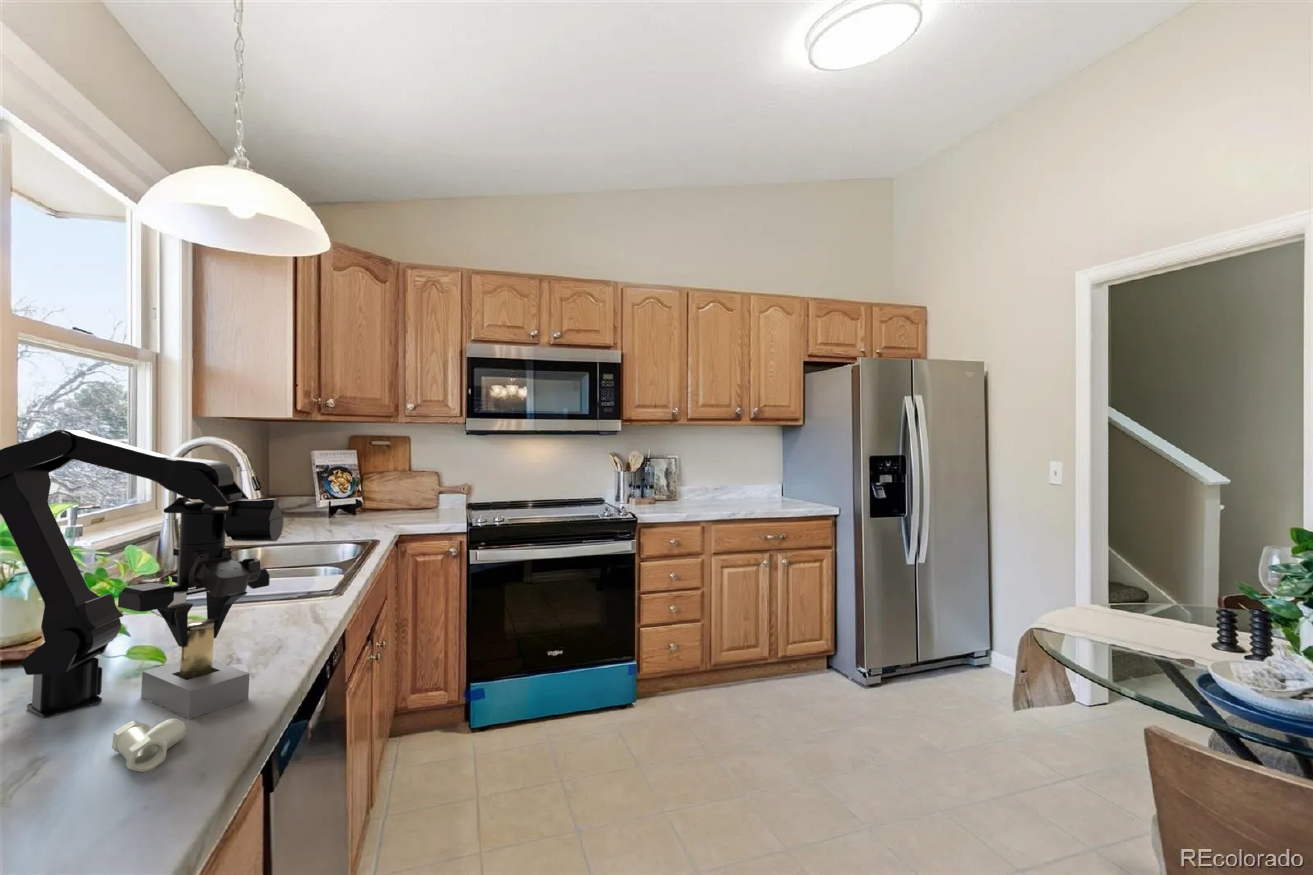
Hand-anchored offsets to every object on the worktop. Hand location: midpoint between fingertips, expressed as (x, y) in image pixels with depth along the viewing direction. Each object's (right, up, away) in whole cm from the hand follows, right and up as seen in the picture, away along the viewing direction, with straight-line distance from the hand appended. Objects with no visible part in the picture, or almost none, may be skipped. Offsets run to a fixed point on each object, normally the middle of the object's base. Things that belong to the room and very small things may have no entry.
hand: (197, 642), depth 92 cm
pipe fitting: (+7, -9, -16) cm, 20 cm away
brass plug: (0, -6, 0) cm, 6 cm away
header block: (0, -9, 0) cm, 9 cm away
